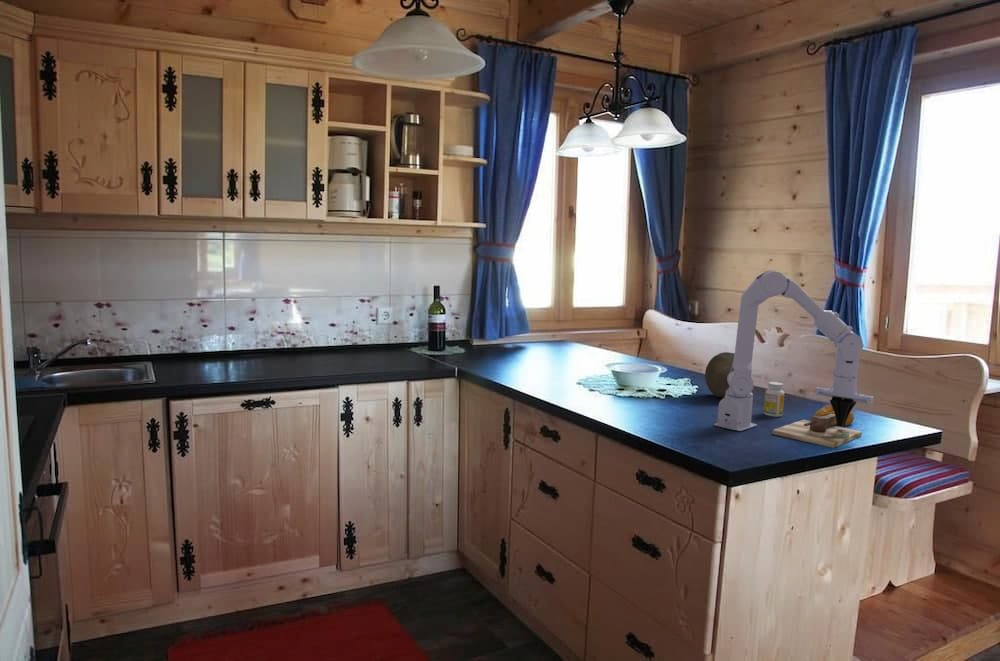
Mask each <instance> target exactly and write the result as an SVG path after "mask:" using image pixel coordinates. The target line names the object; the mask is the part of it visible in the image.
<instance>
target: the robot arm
mask: <svg viewBox="0 0 1000 661" xmlns="http://www.w3.org/2000/svg"><path fill="white" fill-rule="evenodd" d="M779 295H781V296H783V297H786V298H789V299H792V300H793V301H794V302H796V304H798V305H799V307H801V308H802V309H803V310H805V311H806V312H807V314H809V315H810V316H811V317H813V326H814V327H815V328H816V329H818V331H820V332H821V333H822V335H824V336H825V337H826V338H827V339H828V340H829V341H830V342H831V343H834V344H833V345H834V346H835V348H837V349H836V353H835V354H836V355H835V359H834V367H833V368H834V369H833V370H834V372H833V379H832V380H833V381H832V388H828V387H820V386H818V387H815V391H814V392H815V393H814V394H815V395H816V396H824V397H828V398H829V397H830V398H831V399H830V400H829V404H830V405H832V407H833V410H834V413H835V416H836V421H837V427H846V426H845V424H846V420H847V418H848V415H849V413H850V412H851V411H852V410H853V408H854V407H855V406H856V404H857V403H861V404H866V405H873V404H874V398H875V397H874V396H872V395H867V394H864V393H860V392H857V387H858V386H857V385H858V374H859V365H860V360H859V358H860V352H861V351H863V350H864V343H863V339H862V338H861V336H860V335H859V334H857V333H855V332H854V331H853V327H852V326H851V325H847V324H846V323H845V322H844V321H843V320H842V319H841V318H839V317H840V313H838V312H837V311H834V312H833V311H832V310H827V309H826V310H825V309H823V308H822V307H820V305H819V304H817V302H815V300H814V299H813V298H812V297H811V296H810V295H809V294H808V293H807V292H806V291H805V290H804V289H802V287H801V286H800V285H798V284H797V283H796V282H795V281H794V280H791V279H790V278H788V277H787V276H786V275H785V274H783V272H780V271H776V270H773V269H772V270H770V269H769V270H767V271H764V272H762V273H760V274H759V275H756V277H755V278H754V280H753V281H752V282H751V283H750V285H749V286H748V287H747V288H746V289H745V290H744V291H743V293H742V294H741V298H740V305H739V314H738V321H737V322H738V323H737V329H736V340H735V346H734V353H735V355H734V360H733V364H732V369H731V371H730V372H729V374H728V377H727V381H728V384H729V388H728V389H727V390H726V394H725V397H724V398H722V399H720V401H719V403H718V408H717V422H716V423H714V424H713V425H714V426H715V427H719V428H720V427H721V428H723V429H724V428H725V429H729V430H733V431H737V432H742V431H745V430H749V429H752V428H755V427H757V426H758V424H757V423H752V410H753V397H754V396H753V395H754V393H753V392H752V391H753V389H754V387H755V386H754V385H755V384H754V379H753V377H752V372H753V371H752V370H753V369H752V366H753V364H752V363H753V362H752V361H753V352H754V347H755V346H754V344H755V338H756V330H757V329H756V328H757V323H758V322H757V321H758V313H759V306H760V305H761V304H763V302H766V301H767V300H768V299H770V298H773V297H776V296H779Z"/></svg>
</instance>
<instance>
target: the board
mask: <svg viewBox="0 0 1000 661" xmlns="http://www.w3.org/2000/svg"><path fill="white" fill-rule="evenodd" d="M808 422H810V420H807V419H802V420H798V421H794V422H792V423H790V424H789V423H788V424H785V425H783V426H780V427H776V428H774V429H772V435H776V436H781V437H783V438H788V439H792V440H798V441H801V442H805V443H810V444H814V445H818V446H824V447H827V448H831V449H834V448H836V447H839V446H841V445H843V444H846V443H848V441H849V442H851V441H853V440H855V438H856V439H858V438H860V437H862V435H863V431H860V430H855V429H851V428H846V427H843V426H836V425H831V426H829V427H826V431H824V432H819V431H813V430H810V425H809V426H804V424H805V423H808ZM857 437H858V438H857ZM850 440H851V441H850Z"/></svg>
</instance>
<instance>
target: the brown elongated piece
mask: <svg viewBox="0 0 1000 661" xmlns="http://www.w3.org/2000/svg"><path fill="white" fill-rule="evenodd" d="M809 421H810V422H808V423H805V424H804V426H809V425H810V430H813V431H819V432H824V431H826V427H829V426H831V425H832V426H835V425H834V424H837V421H836V416H835V414H829V415H826V416H823V417H820V416H814V415H811V416H810V418H809Z"/></svg>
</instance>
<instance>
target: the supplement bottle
mask: <svg viewBox="0 0 1000 661" xmlns="http://www.w3.org/2000/svg"><path fill="white" fill-rule="evenodd" d="M767 387H768V389H767V388H766V390H765V392H764V405H763V415H765V416H768V417H774V418H778V417H782V416H784V415H783V413H784V404H785V403H784V402H785V391H784V390H782V389H783V387H784V383H782V382H779V381H778V382H777V381H769V382H768V385H767Z"/></svg>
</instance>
